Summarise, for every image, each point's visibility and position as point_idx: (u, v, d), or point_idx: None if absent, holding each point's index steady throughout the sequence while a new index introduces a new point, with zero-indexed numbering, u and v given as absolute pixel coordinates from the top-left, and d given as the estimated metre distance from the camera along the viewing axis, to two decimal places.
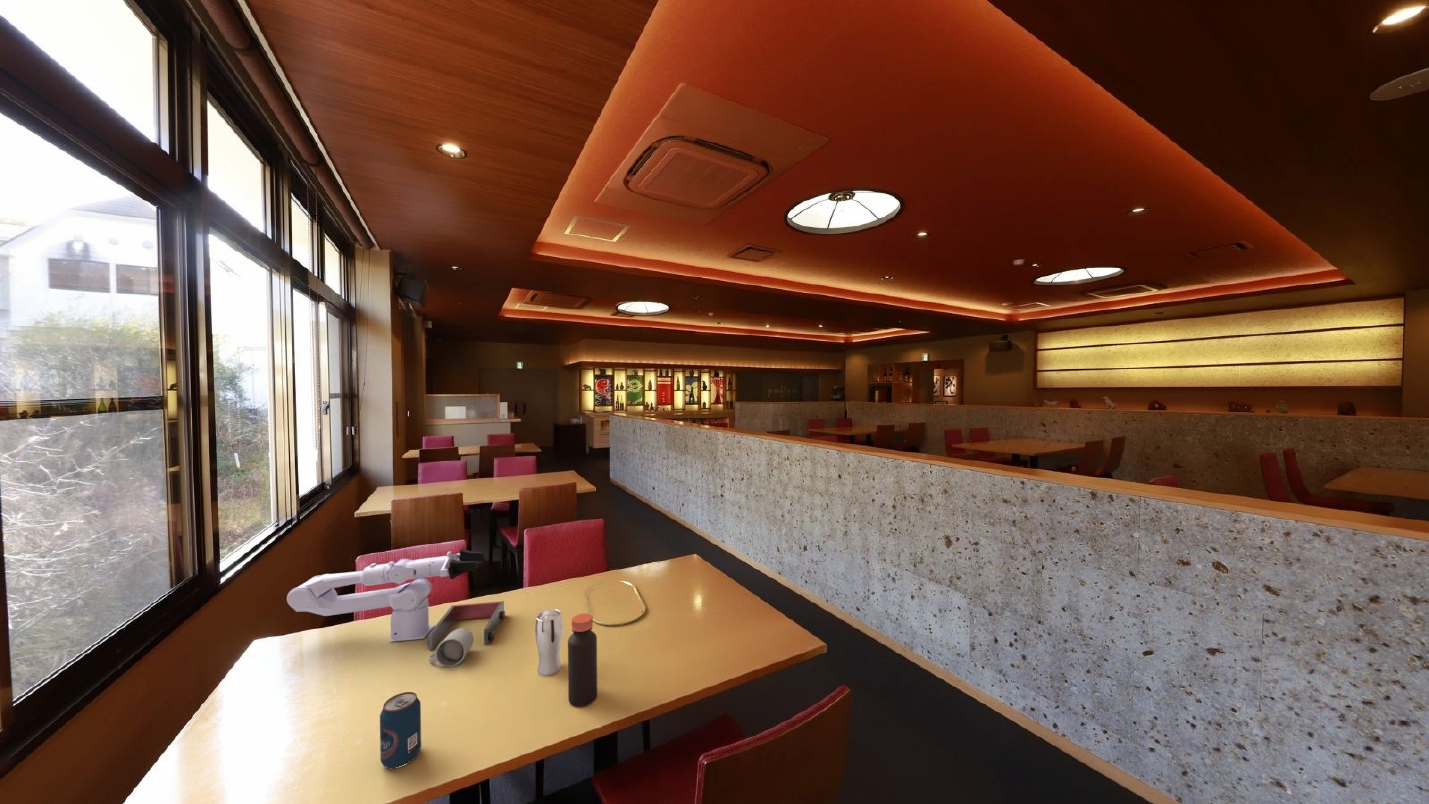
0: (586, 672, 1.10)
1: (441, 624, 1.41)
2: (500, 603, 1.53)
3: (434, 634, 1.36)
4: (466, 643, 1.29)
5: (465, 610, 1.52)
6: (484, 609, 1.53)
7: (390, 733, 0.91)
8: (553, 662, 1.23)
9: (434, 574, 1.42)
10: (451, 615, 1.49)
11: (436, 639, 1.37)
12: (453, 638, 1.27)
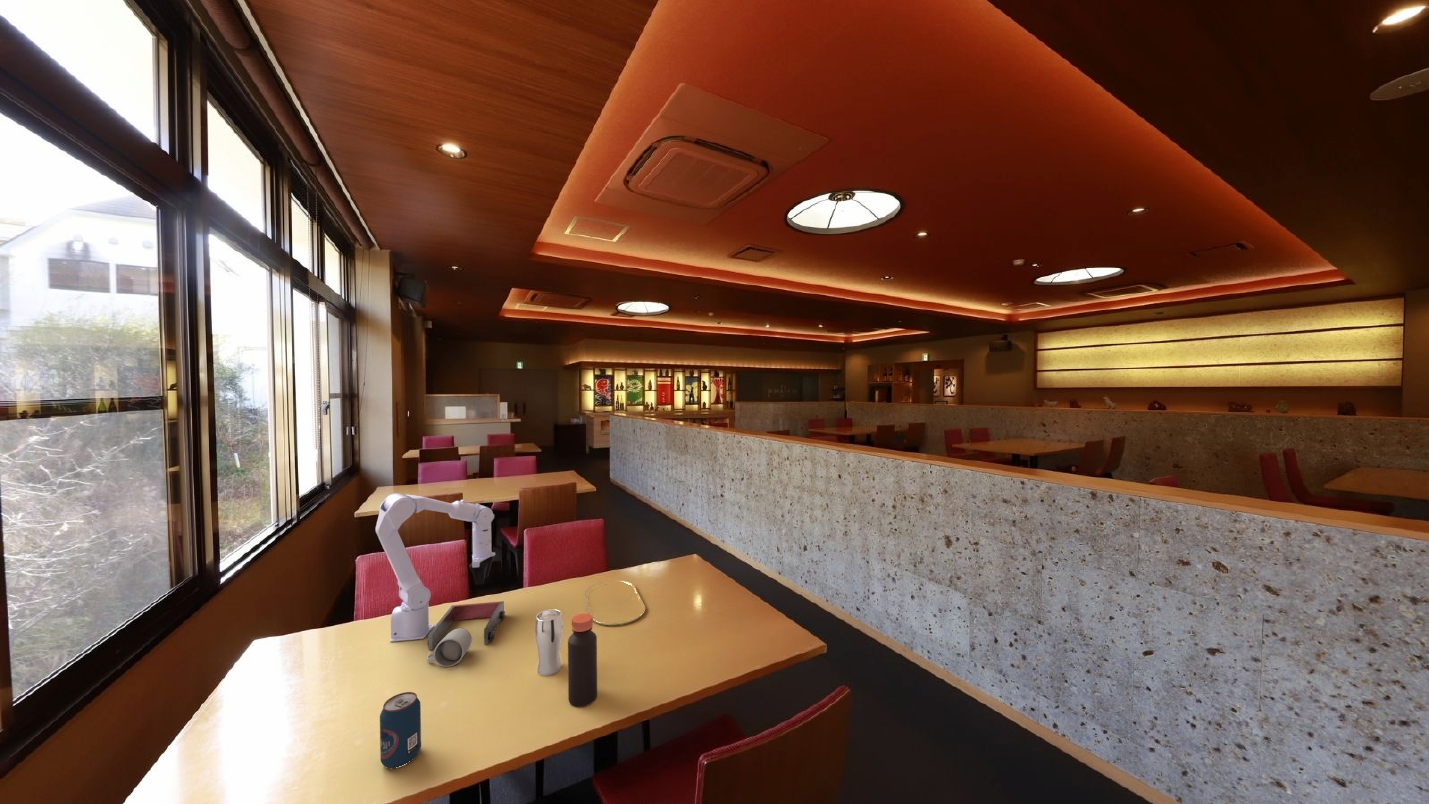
0: (586, 672, 1.10)
1: (441, 624, 1.41)
2: (500, 603, 1.53)
3: (434, 634, 1.36)
4: (464, 643, 1.29)
5: (465, 610, 1.52)
6: (484, 609, 1.53)
7: (390, 733, 0.91)
8: (553, 662, 1.23)
9: (474, 546, 1.56)
10: (451, 615, 1.49)
11: (436, 639, 1.37)
12: (451, 638, 1.27)
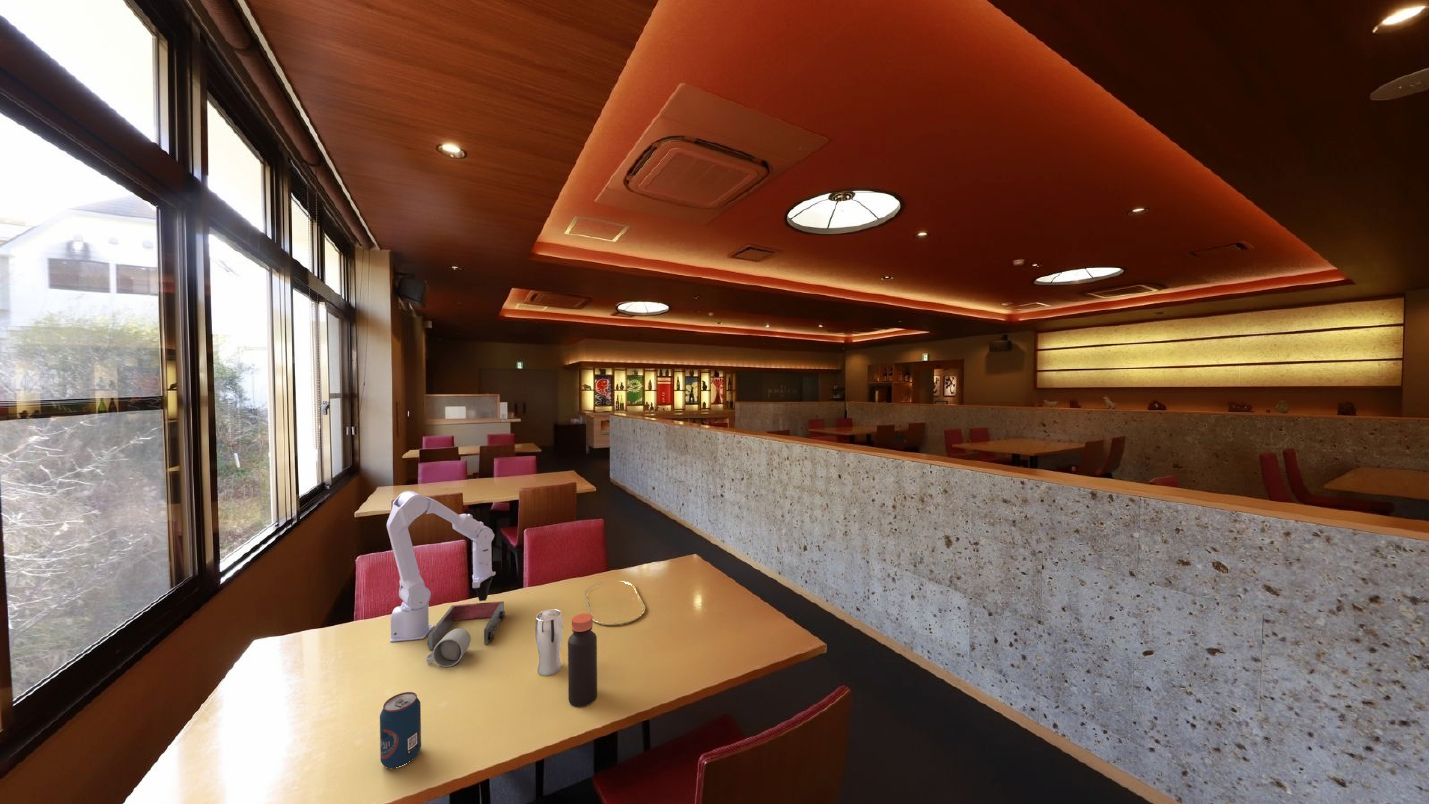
0: (586, 672, 1.10)
1: (441, 624, 1.41)
2: (500, 603, 1.53)
3: (434, 634, 1.36)
4: (463, 643, 1.29)
5: (465, 610, 1.52)
6: (484, 609, 1.53)
7: (390, 733, 0.91)
8: (553, 662, 1.23)
9: (475, 566, 1.56)
10: (451, 615, 1.49)
11: (436, 639, 1.37)
12: (450, 638, 1.27)
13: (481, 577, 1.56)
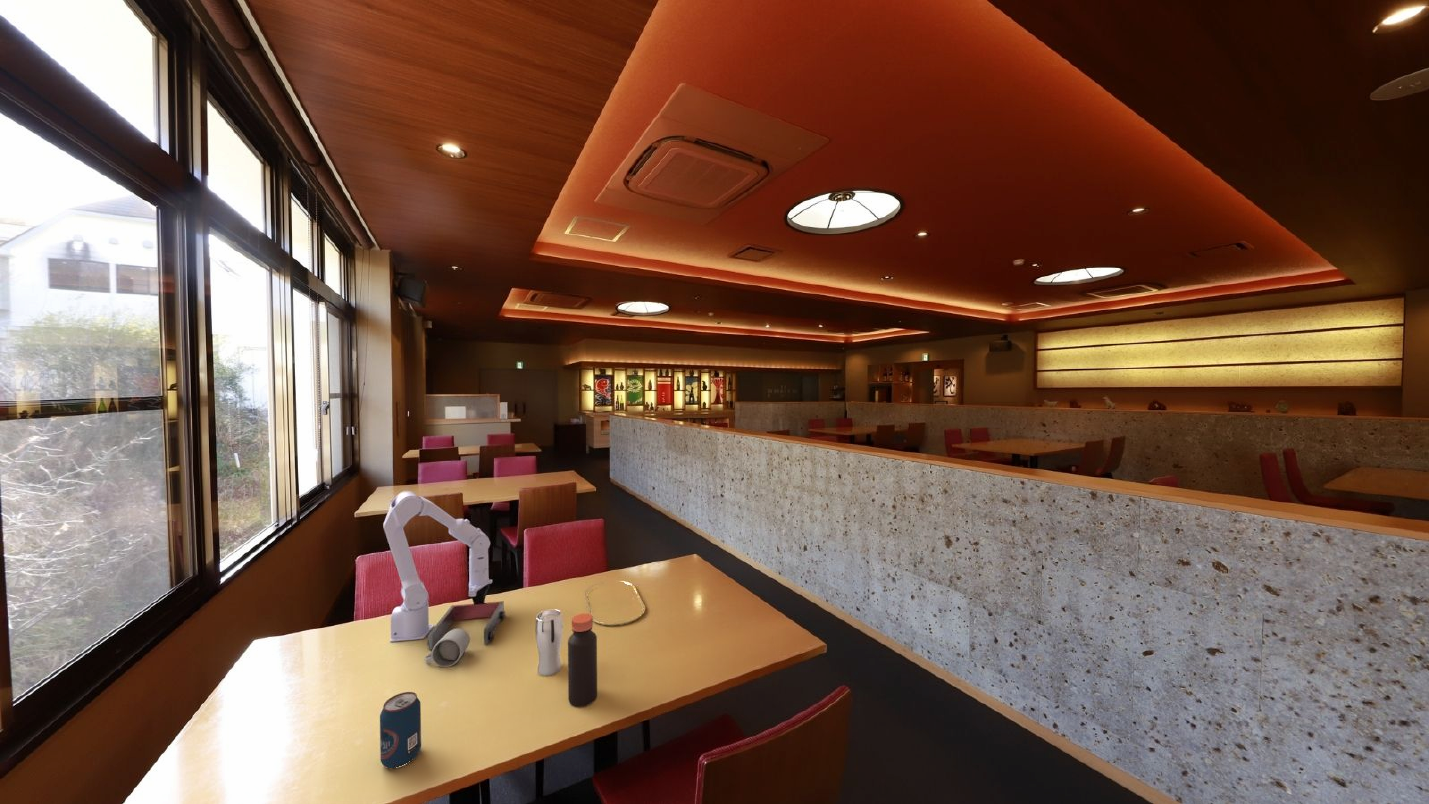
0: (586, 672, 1.10)
1: (441, 624, 1.41)
2: (500, 603, 1.53)
3: (434, 634, 1.36)
4: (462, 643, 1.29)
5: (465, 610, 1.52)
6: (484, 609, 1.53)
7: (390, 733, 0.91)
8: (553, 662, 1.23)
9: (471, 574, 1.52)
10: (451, 615, 1.49)
11: (436, 639, 1.37)
12: (449, 638, 1.27)
13: (477, 585, 1.52)
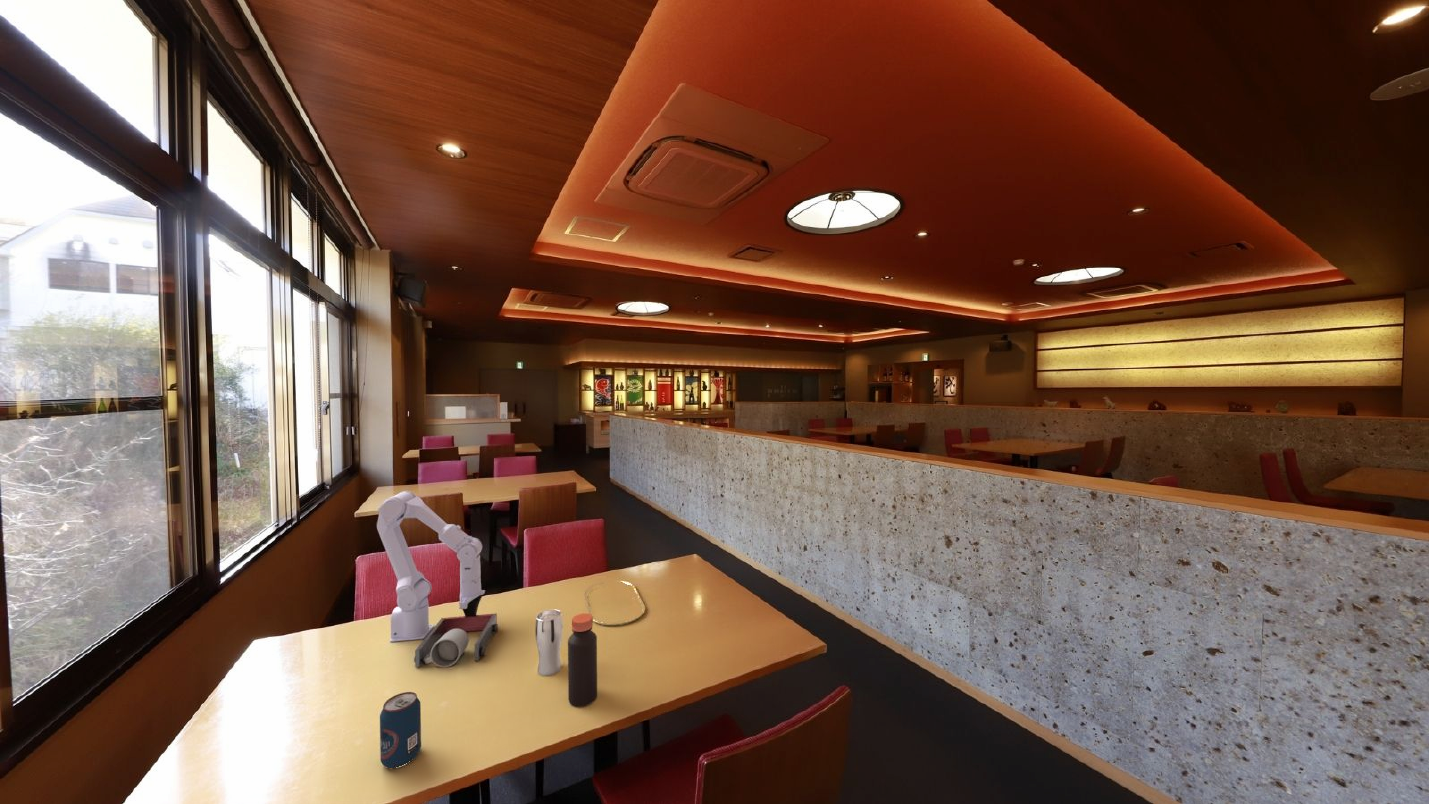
0: (586, 672, 1.10)
1: (429, 639, 1.32)
2: (493, 615, 1.45)
3: (421, 650, 1.27)
4: (461, 643, 1.29)
5: (455, 623, 1.44)
6: (476, 622, 1.45)
7: (390, 733, 0.91)
8: (553, 662, 1.23)
9: (462, 584, 1.44)
10: (440, 629, 1.41)
11: (424, 655, 1.29)
12: (448, 638, 1.27)
13: (469, 597, 1.44)
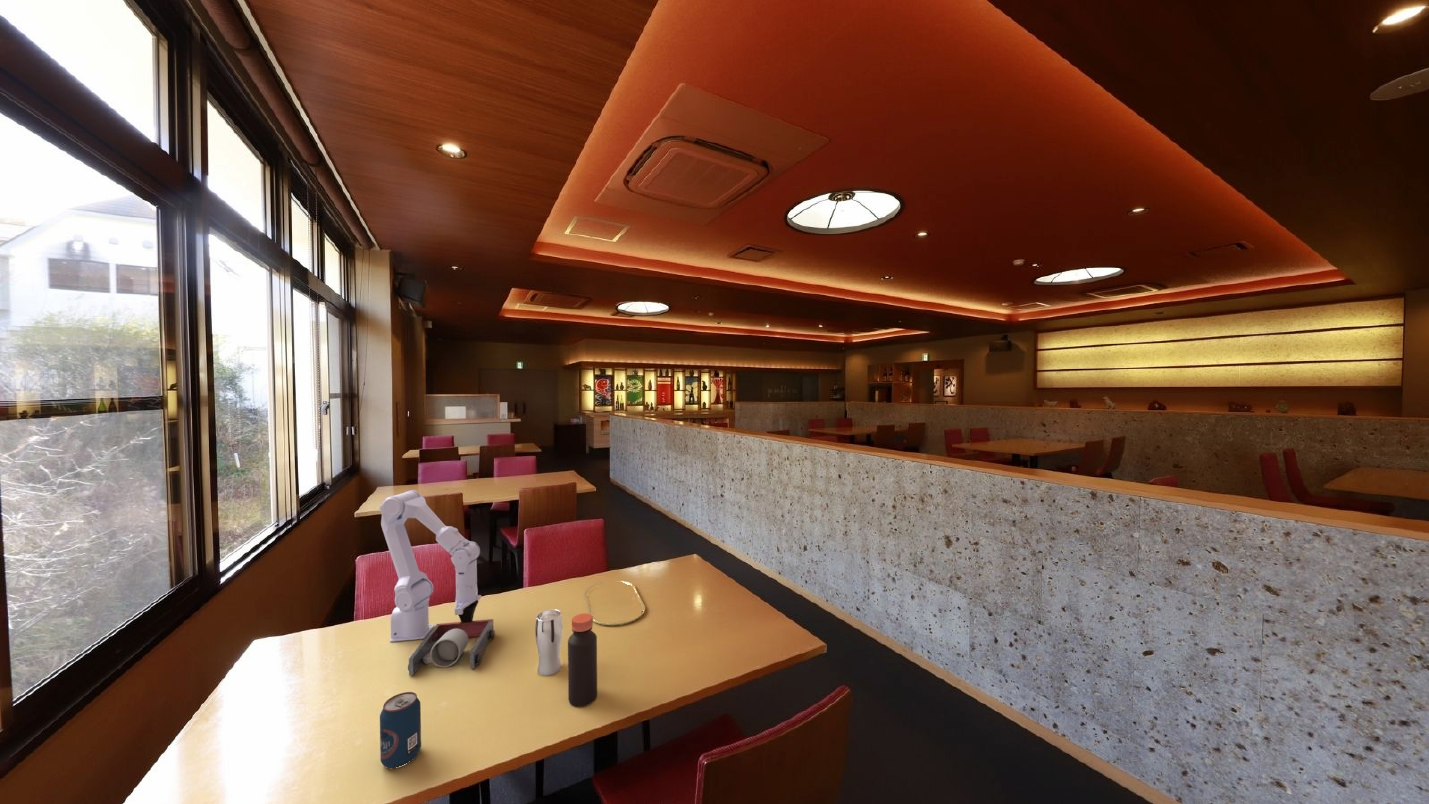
0: (586, 672, 1.10)
1: (423, 646, 1.29)
2: (489, 621, 1.41)
3: (415, 657, 1.24)
4: (461, 643, 1.29)
5: (451, 629, 1.40)
6: (472, 628, 1.41)
7: (390, 733, 0.91)
8: (553, 662, 1.23)
9: (458, 589, 1.40)
10: (436, 635, 1.37)
11: (418, 663, 1.25)
12: (448, 638, 1.27)
13: (465, 602, 1.40)
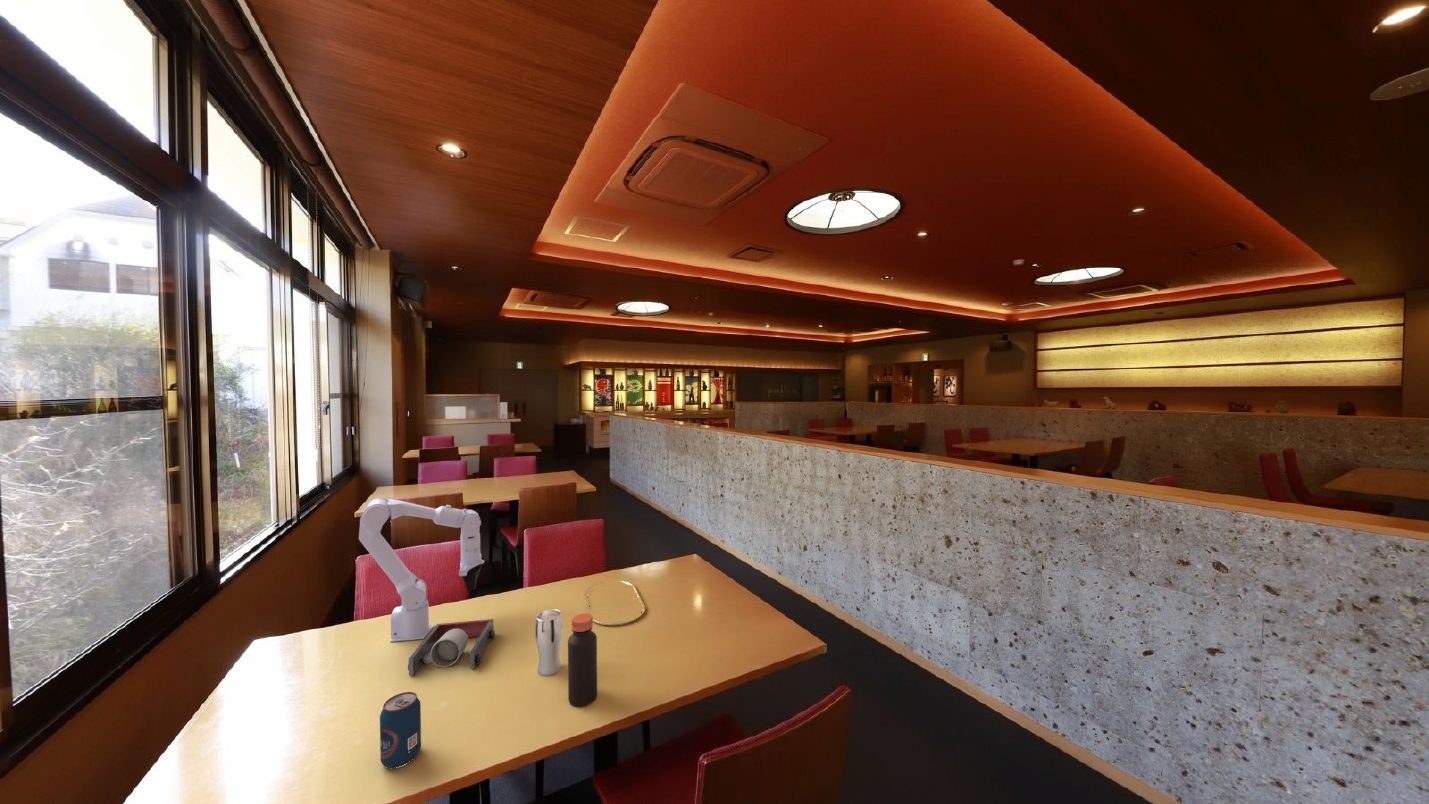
0: (586, 672, 1.10)
1: (423, 646, 1.29)
2: (489, 621, 1.41)
3: (415, 657, 1.24)
4: (461, 643, 1.29)
5: (451, 629, 1.40)
6: (472, 628, 1.41)
7: (390, 733, 0.91)
8: (553, 662, 1.23)
9: (462, 553, 1.49)
10: (435, 635, 1.37)
11: (418, 663, 1.25)
12: (448, 638, 1.27)
13: (469, 565, 1.48)
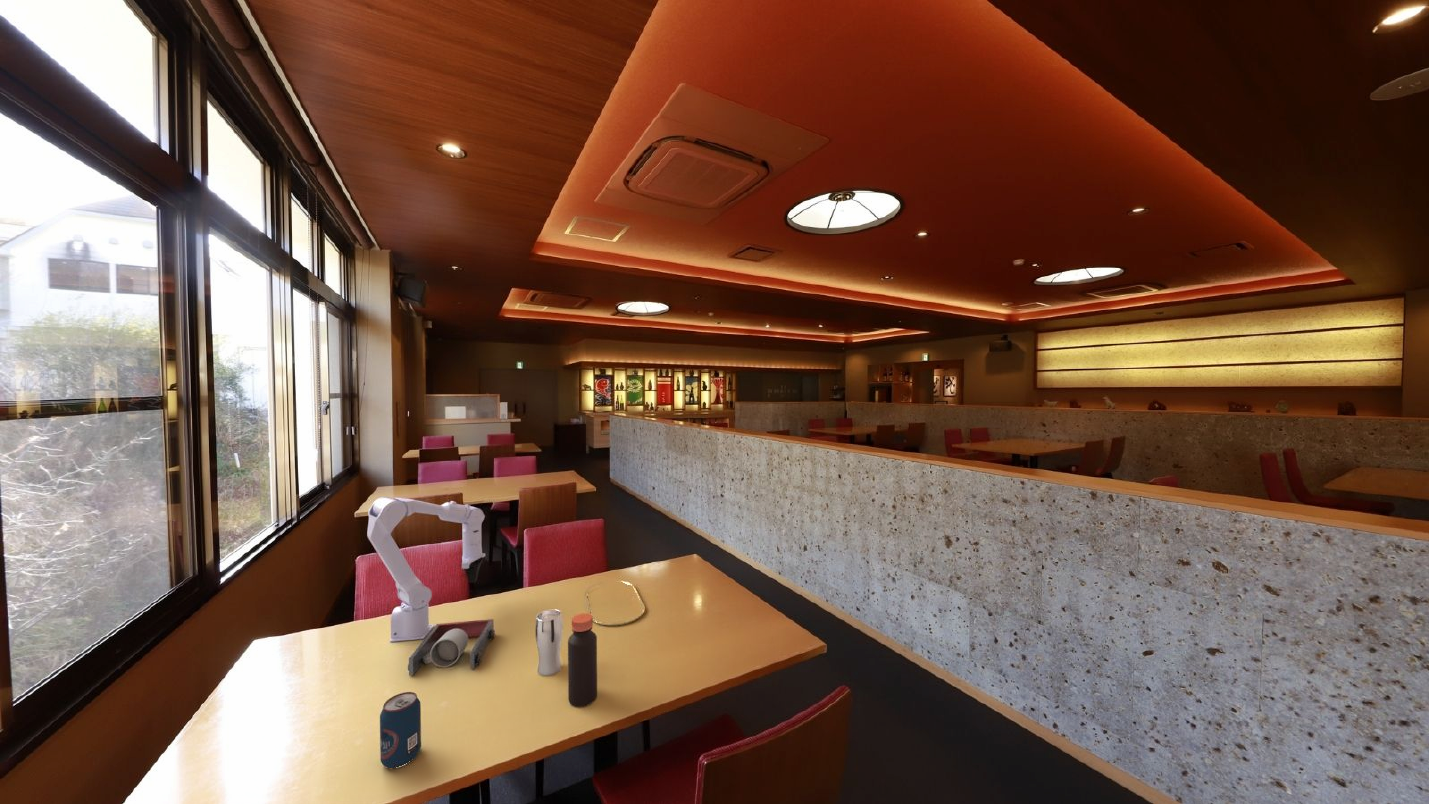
0: (586, 672, 1.10)
1: (423, 646, 1.29)
2: (489, 621, 1.41)
3: (415, 657, 1.24)
4: (461, 643, 1.29)
5: (451, 629, 1.40)
6: (472, 628, 1.41)
7: (390, 733, 0.91)
8: (553, 662, 1.23)
9: (464, 547, 1.55)
10: (435, 635, 1.37)
11: (418, 663, 1.25)
12: (448, 638, 1.27)
13: (471, 558, 1.54)
